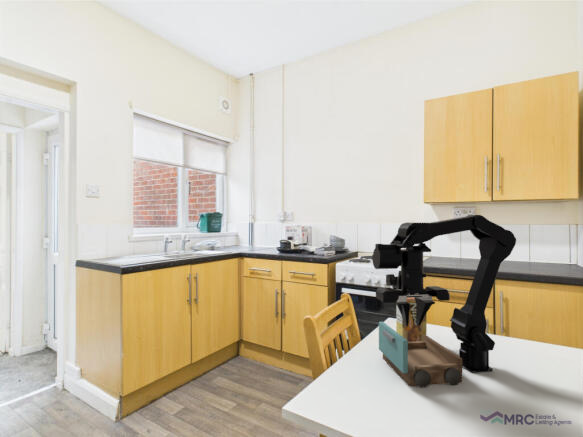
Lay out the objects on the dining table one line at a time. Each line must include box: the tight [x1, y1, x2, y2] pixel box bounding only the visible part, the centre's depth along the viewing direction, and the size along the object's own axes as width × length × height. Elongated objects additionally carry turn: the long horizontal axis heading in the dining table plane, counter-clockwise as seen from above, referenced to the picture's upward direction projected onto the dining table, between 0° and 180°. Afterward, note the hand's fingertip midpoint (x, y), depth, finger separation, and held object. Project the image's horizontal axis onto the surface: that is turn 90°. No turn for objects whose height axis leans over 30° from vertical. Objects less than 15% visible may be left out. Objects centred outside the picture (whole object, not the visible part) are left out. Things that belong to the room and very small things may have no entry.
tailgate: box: [378, 321, 408, 373], centre depth 86 cm, size 2×15×8 cm, turn 7°
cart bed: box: [382, 335, 463, 389], centre depth 87 cm, size 14×18×6 cm
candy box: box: [395, 297, 428, 342], centre depth 105 cm, size 9×4×15 cm, turn 103°
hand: (412, 325), depth 87 cm, fingers open, 3 cm apart
